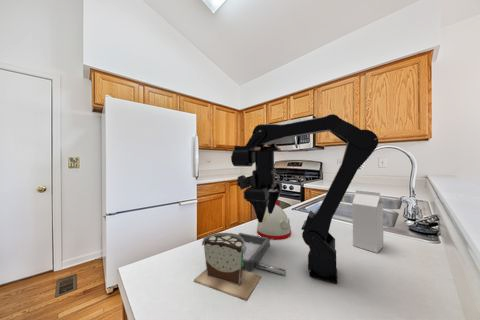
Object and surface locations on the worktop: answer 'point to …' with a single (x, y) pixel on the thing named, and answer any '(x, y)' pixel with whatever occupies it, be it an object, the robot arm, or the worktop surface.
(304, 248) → the worktop surface
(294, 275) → the worktop surface
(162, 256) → the worktop surface
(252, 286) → the pad
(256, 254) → the case
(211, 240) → the food container
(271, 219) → the white knit beanie
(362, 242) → the milk carton
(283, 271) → the rod
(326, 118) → the robot arm
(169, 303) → the worktop surface
